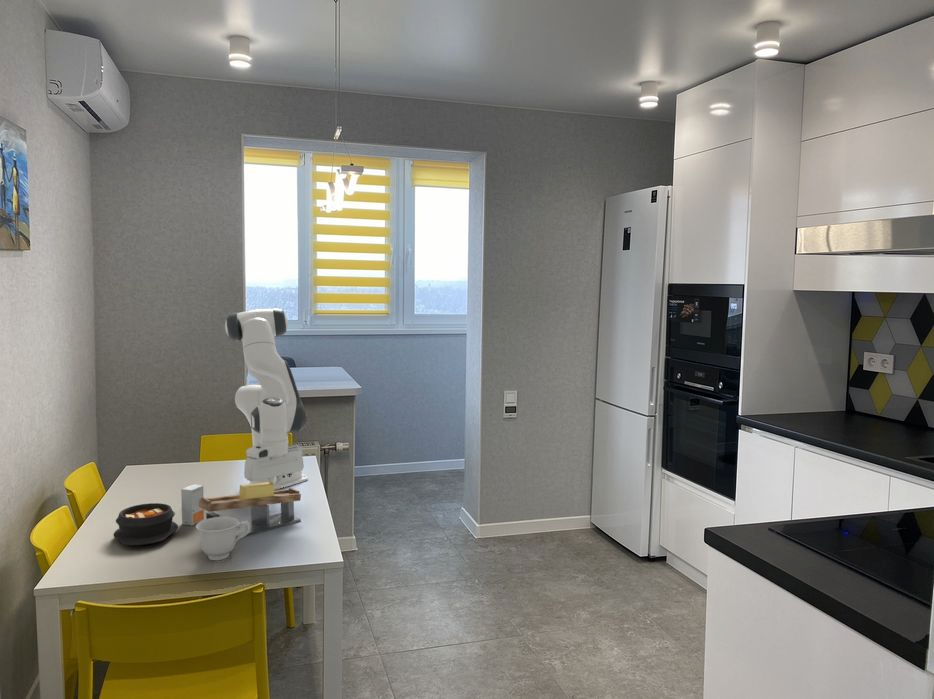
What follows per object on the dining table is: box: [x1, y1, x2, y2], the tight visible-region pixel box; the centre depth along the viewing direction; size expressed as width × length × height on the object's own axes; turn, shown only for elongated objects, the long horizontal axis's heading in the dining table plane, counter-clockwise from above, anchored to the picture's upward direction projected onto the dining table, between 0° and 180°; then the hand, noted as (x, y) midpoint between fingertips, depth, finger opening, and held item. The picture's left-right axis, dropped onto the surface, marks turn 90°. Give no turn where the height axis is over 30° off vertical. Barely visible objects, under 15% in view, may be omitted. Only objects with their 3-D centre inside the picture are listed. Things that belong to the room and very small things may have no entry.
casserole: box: [113, 502, 179, 546], centre depth 225 cm, size 25×19×8 cm
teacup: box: [195, 516, 250, 561], centre depth 209 cm, size 12×15×10 cm
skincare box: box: [180, 484, 205, 526], centre depth 237 cm, size 6×4×12 cm
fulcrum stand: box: [205, 501, 302, 538], centre depth 232 cm, size 30×10×8 cm, turn 135°
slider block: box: [238, 482, 275, 500], centre depth 232 cm, size 10×4×4 cm, turn 135°
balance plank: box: [199, 487, 302, 512], centre depth 231 cm, size 32×7×3 cm, turn 135°
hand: (275, 489), depth 236 cm, fingers closed
